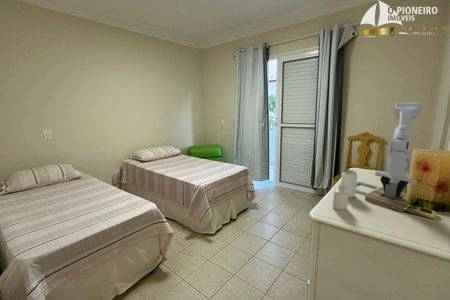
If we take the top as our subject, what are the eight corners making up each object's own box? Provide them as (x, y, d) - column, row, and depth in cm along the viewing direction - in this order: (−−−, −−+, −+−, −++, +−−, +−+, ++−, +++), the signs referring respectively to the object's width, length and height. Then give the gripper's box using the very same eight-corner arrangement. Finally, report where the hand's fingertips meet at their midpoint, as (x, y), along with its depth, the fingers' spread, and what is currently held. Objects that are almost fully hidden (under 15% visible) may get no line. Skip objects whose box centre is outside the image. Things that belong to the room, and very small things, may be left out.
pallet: (381, 190, 106) (382, 187, 105) (417, 200, 94) (418, 196, 94) (364, 200, 96) (365, 196, 96) (402, 212, 85) (403, 207, 84)
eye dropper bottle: (348, 211, 86) (351, 184, 84) (333, 209, 88) (335, 183, 86) (346, 206, 90) (349, 180, 88) (331, 205, 92) (334, 179, 90)
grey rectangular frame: (358, 183, 116) (358, 181, 116) (380, 189, 108) (381, 187, 107) (345, 188, 109) (345, 186, 109) (368, 195, 100) (368, 193, 100)
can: (357, 198, 98) (360, 174, 96) (342, 197, 99) (344, 173, 97) (351, 192, 104) (354, 170, 102) (337, 192, 106) (340, 169, 103)
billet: (388, 195, 98) (390, 181, 96) (398, 198, 95) (401, 184, 93) (383, 198, 95) (385, 184, 94) (394, 201, 92) (396, 186, 91)
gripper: (373, 163, 96) (370, 191, 98) (414, 171, 84) (408, 202, 86) (380, 161, 99) (376, 188, 102) (420, 168, 87) (414, 198, 90)
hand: (391, 194), depth 95 cm, fingers closed on billet, 4 cm apart
